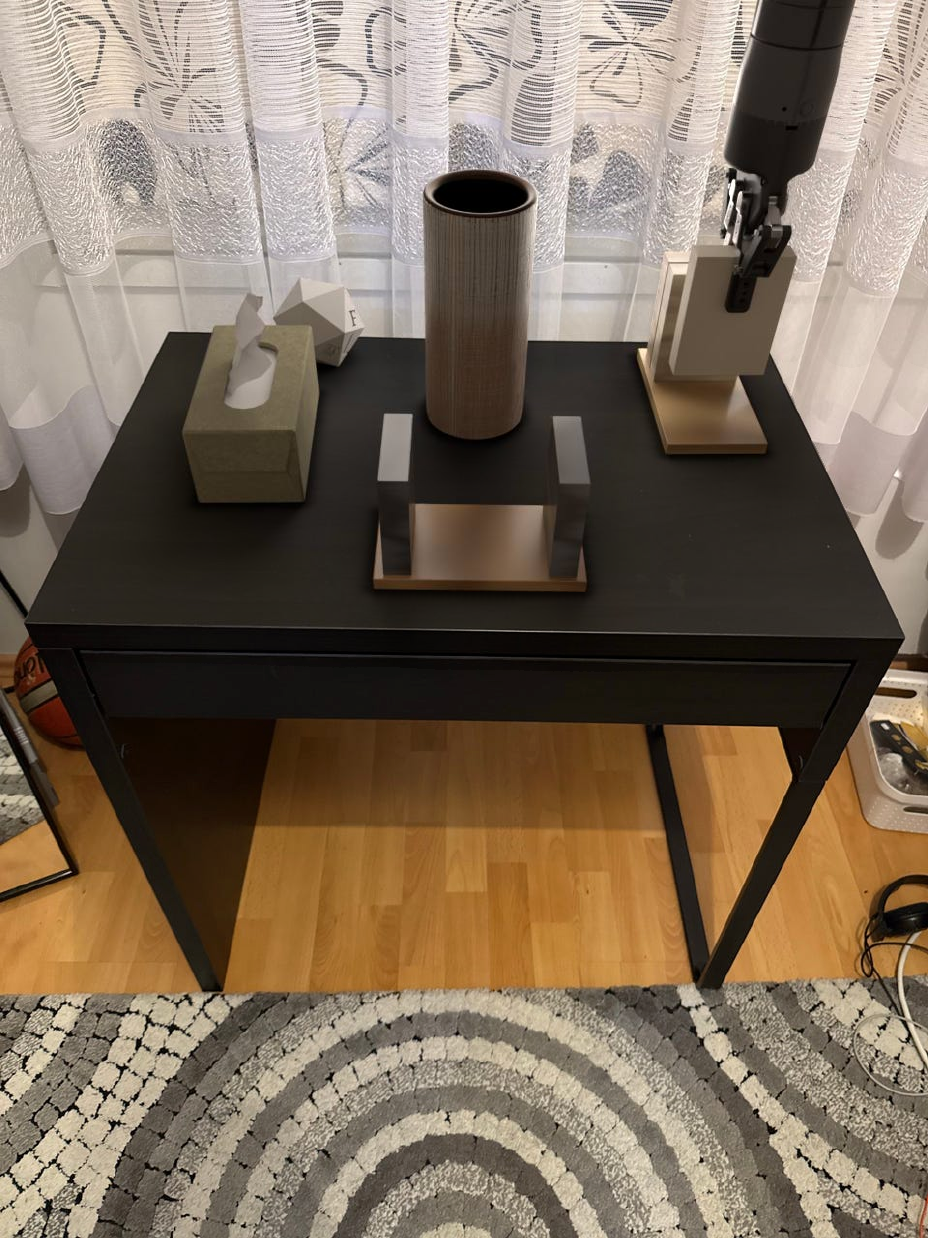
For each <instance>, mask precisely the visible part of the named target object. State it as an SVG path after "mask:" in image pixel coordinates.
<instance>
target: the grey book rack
mask: <svg viewBox="0 0 928 1238" xmlns="http://www.w3.org/2000/svg"><path fill="white" fill-rule="evenodd" d="M413 418H414V415H413V414H412V413H384V414H383V417H382V426H381V427H382V428H381V439H380V449H379V457H378V466H377V478H376V490H377V504H378V505H377V506H378V527H377V536H376V545H375V555H374V565H373V566H374V567H373V575H372V576H373V577H372V583H373V589H374V590H417V591H418V590H419V591H420V590H423V591H425V590H426V591H429V590H430V591H496V592H498V591H502V592H505V591H506V592H508V591H509V592H576V593H577V592H580V593H581V592H582V593H585V592H586V590H587V584H588V579H587V572H586V564H585V556H584V548H583V539H584V534H585V533H584V532H585V524H586V518H587V513H588V506H589V505H588V504H589V499H590V491H591V484H592V483H591V477H590V471H589V463H588V457H587V449H586V444H585V443H586V442H585V437H584V430H583V429H584V428H583V423H582V417H581V416H572V415H571V416H567V415H566V416H565V415H564V416H563V415H562V416H561V415H553V416H551V422H550V431H549V432H550V434H549V442H548V452H547V453H548V454H547V462H546V473H545V483H544V493H543V501H542V502H543V503H542V505H541V504H540V505H534V504H533V505H531V504H530V505H529V504H462V503H461V504H459V503H457V504H456V503H455V504H451V503H449V504H448V503H416V483H415V482H416V481H415V449H414V447H415V446H414V445H415V444H414V419H413Z"/></svg>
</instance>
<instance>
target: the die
mask: <svg viewBox="0 0 928 1238" xmlns="http://www.w3.org/2000/svg"><path fill="white" fill-rule="evenodd" d="M272 320H273V321H274V324H275V325H310V326H311V327H312V333H313V342H314V351H315V360H316V363H319V364H323V365H324V364H325V365H327V366H328V365H329V366H334V367H340V365H341V364H342V362H343V361H344V359H346V356H347V355H348V353H349V352H350V351H351V349H352V347H353V346H354V344H355V343H356V342H357V340H358V339H359V337H360V335H361V334H362V333H363V331H364V329H365V328H366V326H365V324H364V322H363V320H362V318H361V316H360V314H359V312H358V310H357V308H356V306H355V304H354V302H353V300H352V298H351V296H350V293H349V292H348V290H347V288H346V286H345V285H340V284H336V283H331V282H326V281H320V280H315V279H309V278H305V277H299V278H298V279H297V281H296V283H295V284H294V285H293V287H292V289H291V290H290V291H289V293H288V295H287V296H286V298H285V299H284V300H283V302H282V303H281V305H280V307H279V308H278V309H277V310H276V312H275V314H274V315H273V317H272Z"/></svg>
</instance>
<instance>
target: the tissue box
mask: <svg viewBox="0 0 928 1238" xmlns="http://www.w3.org/2000/svg"><path fill="white" fill-rule="evenodd" d="M263 301H264V296H263V295H261V296H260V295H258V296H257V294H254V293H252V292H251V291H248V292H247V294H246V296H245V297H244V300H243V301H242V303H241V305H240V308H239V310H238V312H237V313H236V316H235V324H233V325H232V324H231V325H230V324H226V325H225V324H219V325H218V324H217V325H216V324H215V325H214V326H213V327H212V331H211V335H210V338H209V340H208V344H207V348H206V351H205V354H204V358H203V361H202V364H201V367H200V371H199V374H198V377H197V380H196V384H195V388H194V391H193V395H192V397H191V400H190V405H189V408H188V411H187V414H186V418H185V420H184V424H183V428H182V431H181V434H182V439H183V443H184V447H185V451H186V454H187V460H188V463H189V467H190V473H191V475H192V479H193V483H194V488H195V492H196V496H197V500H198V502H199V503H201V504H203V503H204V504H225V503H226V504H227V503H229V504H230V503H233V504H234V503H235V504H236V503H237V504H240V503H241V504H242V503H247V504H248V503H303V502H305V501H306V493H307V486H308V478H309V472H310V464H311V458H312V457H311V456H312V449H313V442H314V435H315V426H316V420H317V413H318V404H319V397H320V388H319V379H318V370H317V362H316V360H315V351H314V342H313V333H312V327H311V326H310V325H276V324H271V325H270V324H265V323H264V321H263V320H262V318H261V317H260V316H259V314H258V312H259V311H260V309H261V307H262V306H263Z"/></svg>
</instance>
